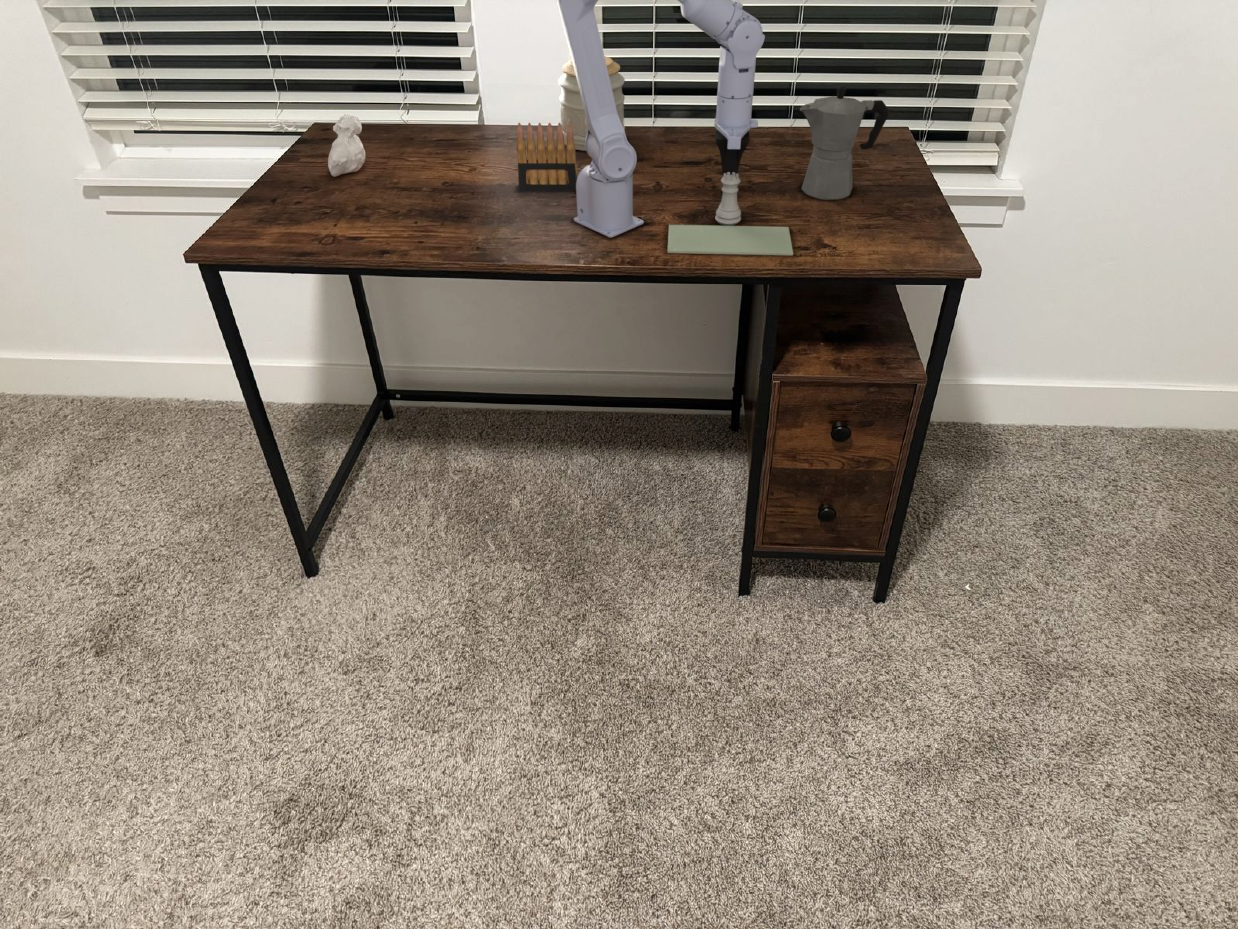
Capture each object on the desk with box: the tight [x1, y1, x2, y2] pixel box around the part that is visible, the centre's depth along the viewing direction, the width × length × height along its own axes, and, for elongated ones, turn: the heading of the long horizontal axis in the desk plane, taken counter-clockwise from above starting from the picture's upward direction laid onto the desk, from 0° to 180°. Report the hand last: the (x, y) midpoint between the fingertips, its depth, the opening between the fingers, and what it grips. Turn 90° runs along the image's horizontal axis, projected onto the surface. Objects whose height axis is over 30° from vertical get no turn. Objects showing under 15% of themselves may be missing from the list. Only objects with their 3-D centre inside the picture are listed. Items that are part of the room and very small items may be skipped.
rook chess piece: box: [714, 172, 742, 226], centre depth 149 cm, size 4×4×8 cm
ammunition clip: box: [516, 122, 578, 192], centre depth 159 cm, size 11×2×12 cm, turn 88°
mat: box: [666, 224, 794, 256], centre depth 145 cm, size 20×10×1 cm, turn 86°
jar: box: [557, 55, 626, 152], centre depth 175 cm, size 13×13×18 cm
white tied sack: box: [327, 113, 366, 178], centre depth 167 cm, size 12×8×11 cm
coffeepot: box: [799, 85, 890, 201], centre depth 155 cm, size 15×9×18 cm, turn 92°
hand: (729, 175), depth 151 cm, fingers closed
